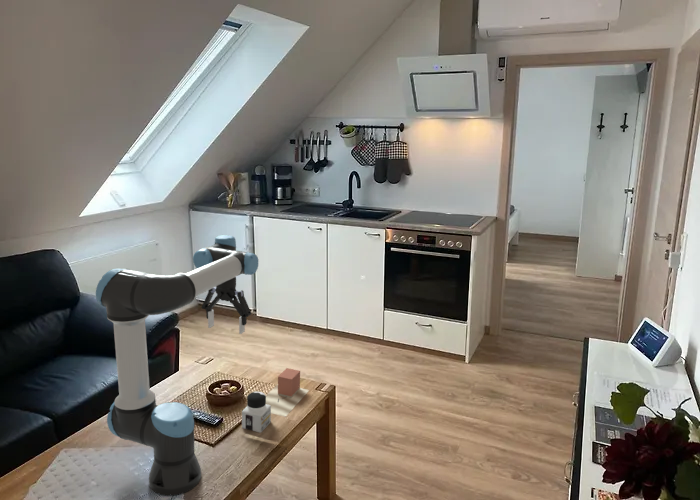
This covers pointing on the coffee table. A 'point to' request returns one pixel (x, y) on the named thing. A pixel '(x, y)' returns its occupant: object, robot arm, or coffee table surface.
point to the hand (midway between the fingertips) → (226, 329)
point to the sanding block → (288, 382)
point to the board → (283, 401)
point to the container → (256, 412)
